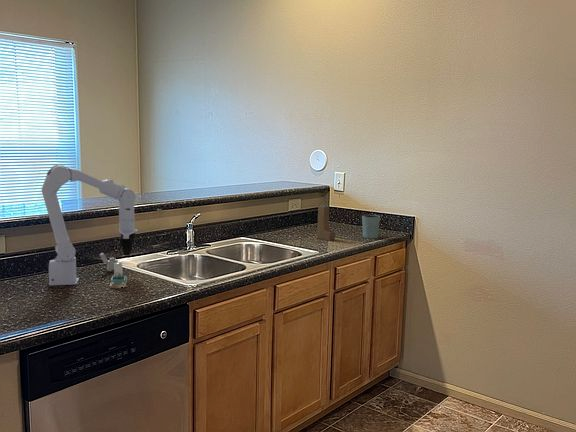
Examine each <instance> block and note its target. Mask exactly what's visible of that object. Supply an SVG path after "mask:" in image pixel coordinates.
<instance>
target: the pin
mask: <svg viewBox="0 0 576 432" xmlns="http://www.w3.org/2000/svg"><path fill="white" fill-rule="evenodd" d="M123 272H124V271H123V262H117V263H114V271H113V276H114V280H118V279H123V276H124V275H123Z"/></svg>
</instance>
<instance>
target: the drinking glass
mask: <svg viewBox="0 0 576 432" xmlns="http://www.w3.org/2000/svg"><path fill="white" fill-rule="evenodd" d="M361 219H362V222H361V223H362V238H364V237H365V239H378V238H379V229H380V222H381V216H380V215H378V214H363V215H362V216H361Z"/></svg>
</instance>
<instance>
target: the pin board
mask: <svg viewBox="0 0 576 432" xmlns="http://www.w3.org/2000/svg"><path fill="white" fill-rule="evenodd" d="M127 283H128V278H127V276H126V275H123V279H118V280H114V275H112V276H111V279H110V285H109V289H125V288H124V287H127ZM121 287H123V288H121Z"/></svg>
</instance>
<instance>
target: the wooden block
mask: <svg viewBox="0 0 576 432" xmlns="http://www.w3.org/2000/svg"><path fill="white" fill-rule="evenodd" d="M317 209H318V211H317V232H316V234H317V235H316V238H317V239H318V240H319V239H320V240H324V241H327V242H328V241H329V242H331V241H334V240H335V238H336V237H335V236H336V232H335V231H334V230H331V229H332V228H330V206H329V205H324V204H322V205H318V206H317Z"/></svg>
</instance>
